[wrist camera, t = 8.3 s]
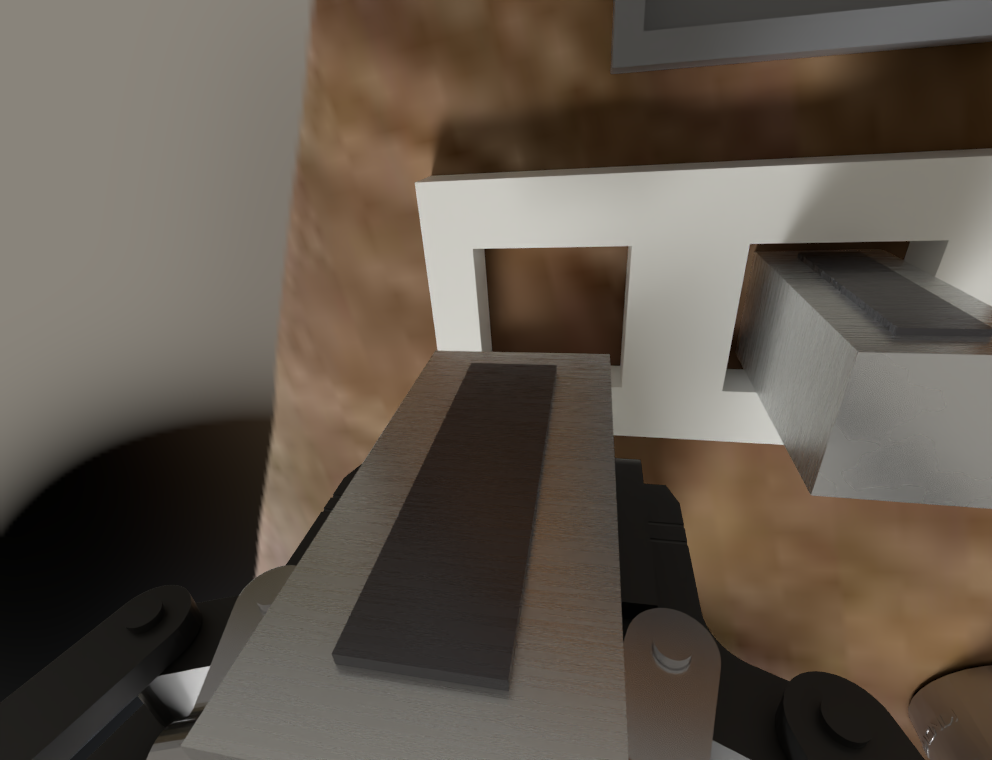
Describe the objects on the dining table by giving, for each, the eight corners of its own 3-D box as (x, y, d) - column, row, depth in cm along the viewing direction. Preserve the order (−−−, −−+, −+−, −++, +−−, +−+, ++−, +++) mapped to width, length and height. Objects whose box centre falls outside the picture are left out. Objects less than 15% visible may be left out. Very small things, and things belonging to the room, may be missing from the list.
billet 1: (610, 347, 12) (633, 828, 4) (602, 491, 14) (607, 976, 6) (434, 343, 12) (173, 736, 5) (453, 480, 15) (296, 896, 7)
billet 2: (884, 243, 18) (1094, 348, 10) (848, 355, 20) (999, 509, 13) (755, 245, 19) (861, 344, 11) (734, 352, 21) (810, 495, 13)
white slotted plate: (1012, 147, 16) (1061, 152, 14) (898, 424, 21) (924, 452, 20) (431, 175, 20) (414, 182, 18) (458, 403, 25) (448, 425, 23)
